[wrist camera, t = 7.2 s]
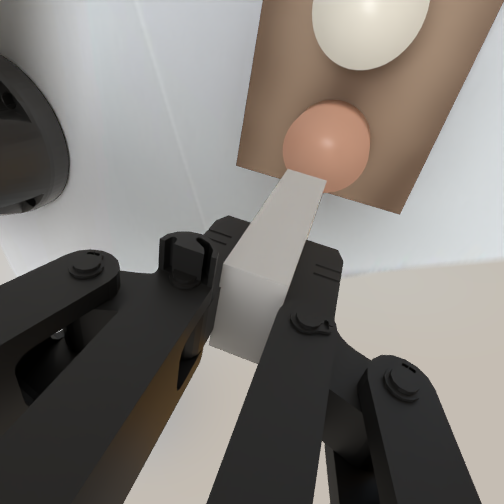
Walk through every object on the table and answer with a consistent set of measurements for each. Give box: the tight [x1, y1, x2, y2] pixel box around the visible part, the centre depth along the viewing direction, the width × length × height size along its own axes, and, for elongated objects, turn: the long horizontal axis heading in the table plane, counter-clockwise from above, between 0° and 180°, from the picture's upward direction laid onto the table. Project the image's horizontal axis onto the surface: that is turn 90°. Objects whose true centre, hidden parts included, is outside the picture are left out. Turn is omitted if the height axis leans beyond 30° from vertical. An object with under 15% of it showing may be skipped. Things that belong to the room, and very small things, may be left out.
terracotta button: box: [283, 100, 371, 193], centre depth 21 cm, size 5×5×3 cm
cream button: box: [312, 0, 430, 70], centre depth 17 cm, size 5×5×3 cm
